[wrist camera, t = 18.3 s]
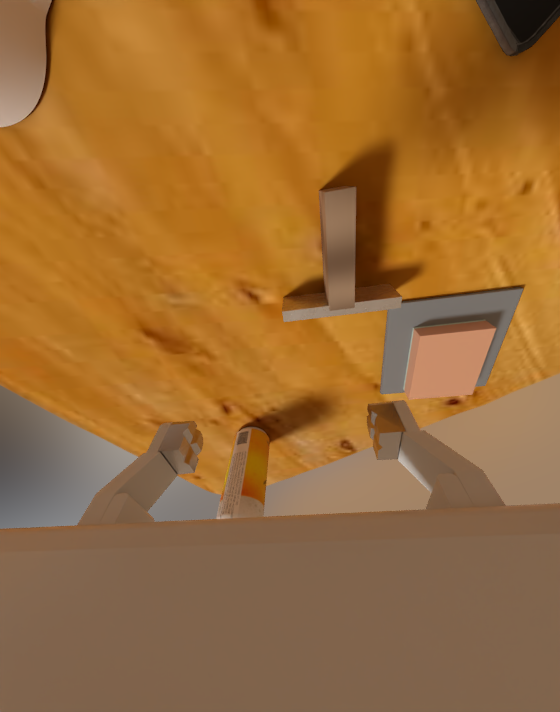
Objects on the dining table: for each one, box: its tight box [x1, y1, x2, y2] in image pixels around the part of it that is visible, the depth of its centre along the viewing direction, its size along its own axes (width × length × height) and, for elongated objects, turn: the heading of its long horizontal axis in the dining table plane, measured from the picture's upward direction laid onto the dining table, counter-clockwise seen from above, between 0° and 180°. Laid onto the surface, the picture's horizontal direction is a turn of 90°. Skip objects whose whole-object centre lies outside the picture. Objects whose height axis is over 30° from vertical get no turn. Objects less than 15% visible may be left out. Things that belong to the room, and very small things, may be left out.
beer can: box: [216, 427, 270, 519], centre depth 38 cm, size 6×6×15 cm
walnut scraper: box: [282, 186, 402, 322], centre depth 25 cm, size 11×12×5 cm
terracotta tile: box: [403, 320, 496, 399], centre depth 32 cm, size 2×8×10 cm
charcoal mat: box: [380, 287, 523, 394], centre depth 32 cm, size 14×14×1 cm
